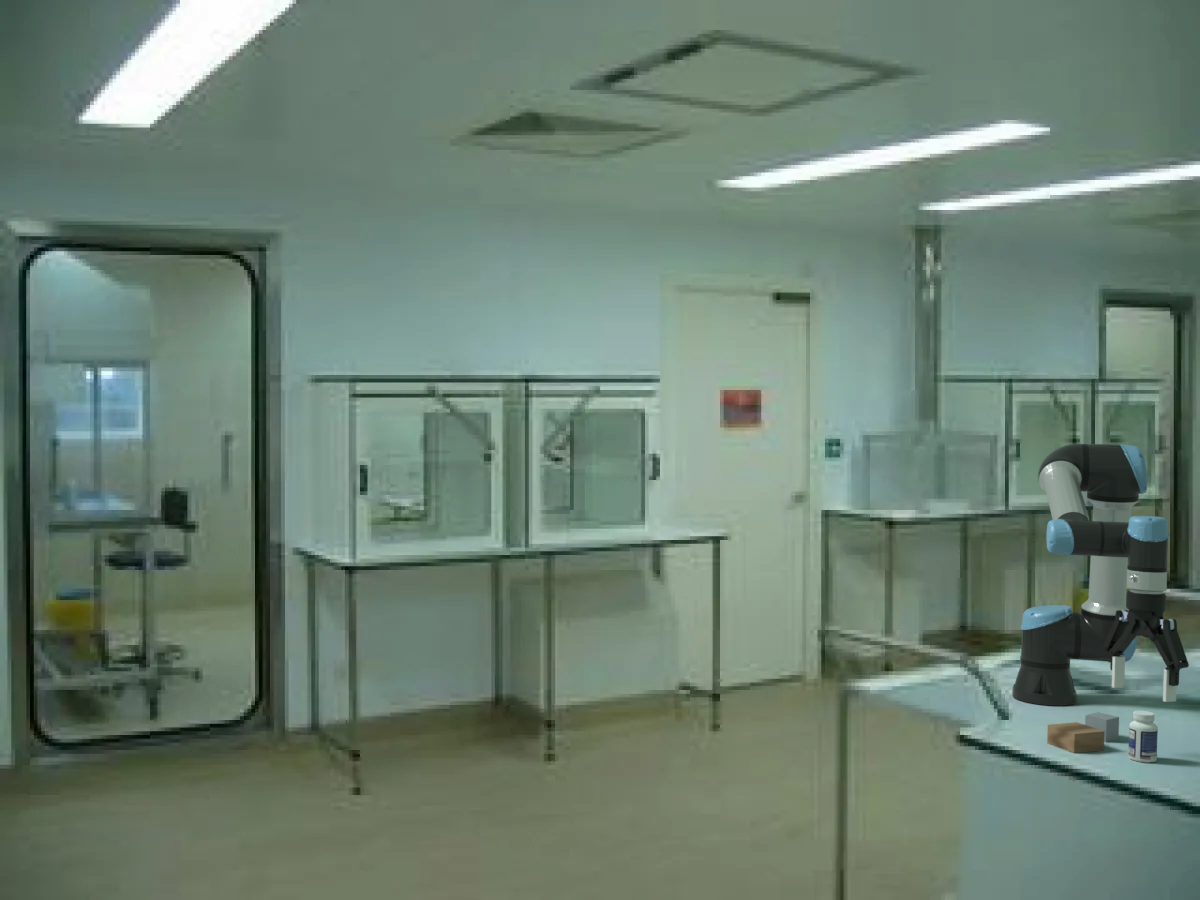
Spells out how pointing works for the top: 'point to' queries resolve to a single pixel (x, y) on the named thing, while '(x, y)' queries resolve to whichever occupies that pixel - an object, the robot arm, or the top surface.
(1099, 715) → the slate cube
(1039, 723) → the top surface
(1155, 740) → the pill bottle
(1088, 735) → the walnut block
